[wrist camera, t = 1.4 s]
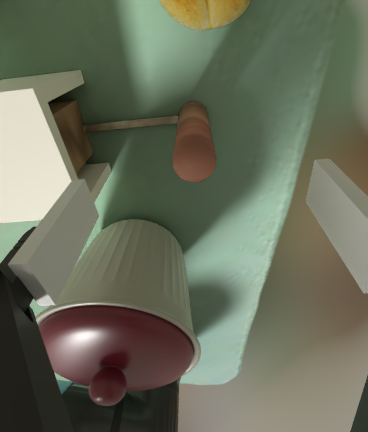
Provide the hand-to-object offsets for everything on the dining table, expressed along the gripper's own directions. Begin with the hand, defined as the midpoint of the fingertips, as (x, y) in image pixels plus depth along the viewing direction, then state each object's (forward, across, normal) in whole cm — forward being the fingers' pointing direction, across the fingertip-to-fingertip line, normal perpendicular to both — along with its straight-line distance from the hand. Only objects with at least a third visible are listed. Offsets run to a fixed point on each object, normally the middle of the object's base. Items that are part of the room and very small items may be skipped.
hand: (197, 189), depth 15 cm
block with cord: (+16, +9, 0) cm, 18 cm away
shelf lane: (+16, +16, 0) cm, 23 cm away
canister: (+16, +10, +19) cm, 27 cm away
